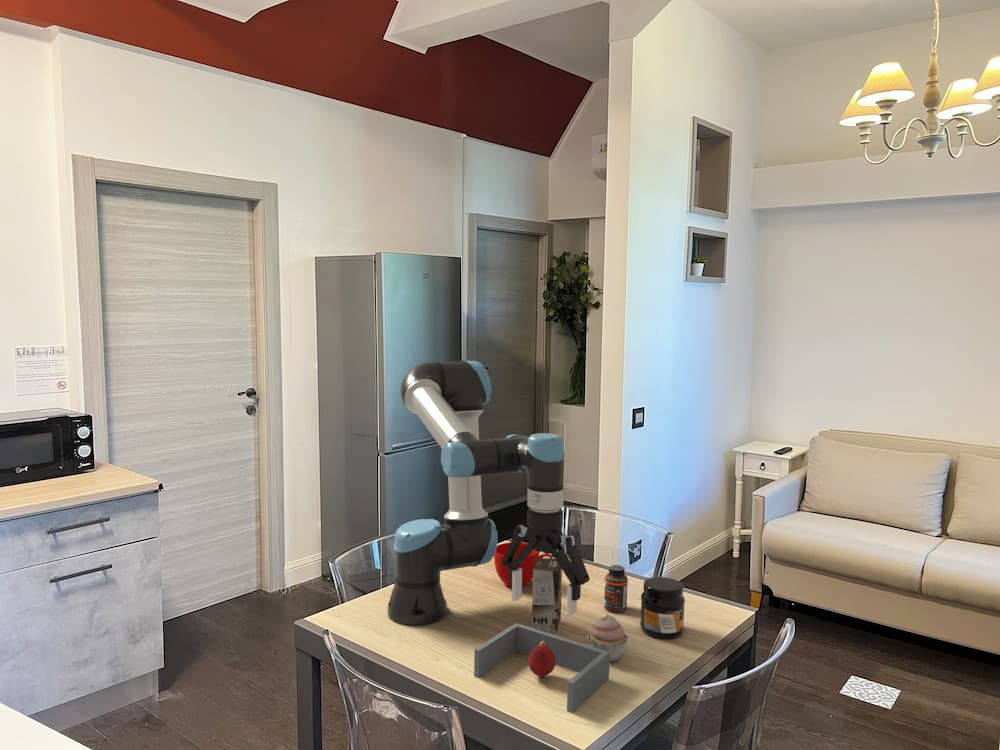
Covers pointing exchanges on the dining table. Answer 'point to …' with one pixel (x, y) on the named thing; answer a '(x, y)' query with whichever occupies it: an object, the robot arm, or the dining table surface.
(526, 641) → the open u-shaped frame
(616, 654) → the cupcake
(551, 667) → the onion
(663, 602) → the supplement container
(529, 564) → the ceramic cup
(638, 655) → the dining table surface
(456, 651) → the dining table surface
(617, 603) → the supplement bottle
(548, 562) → the coffee box
